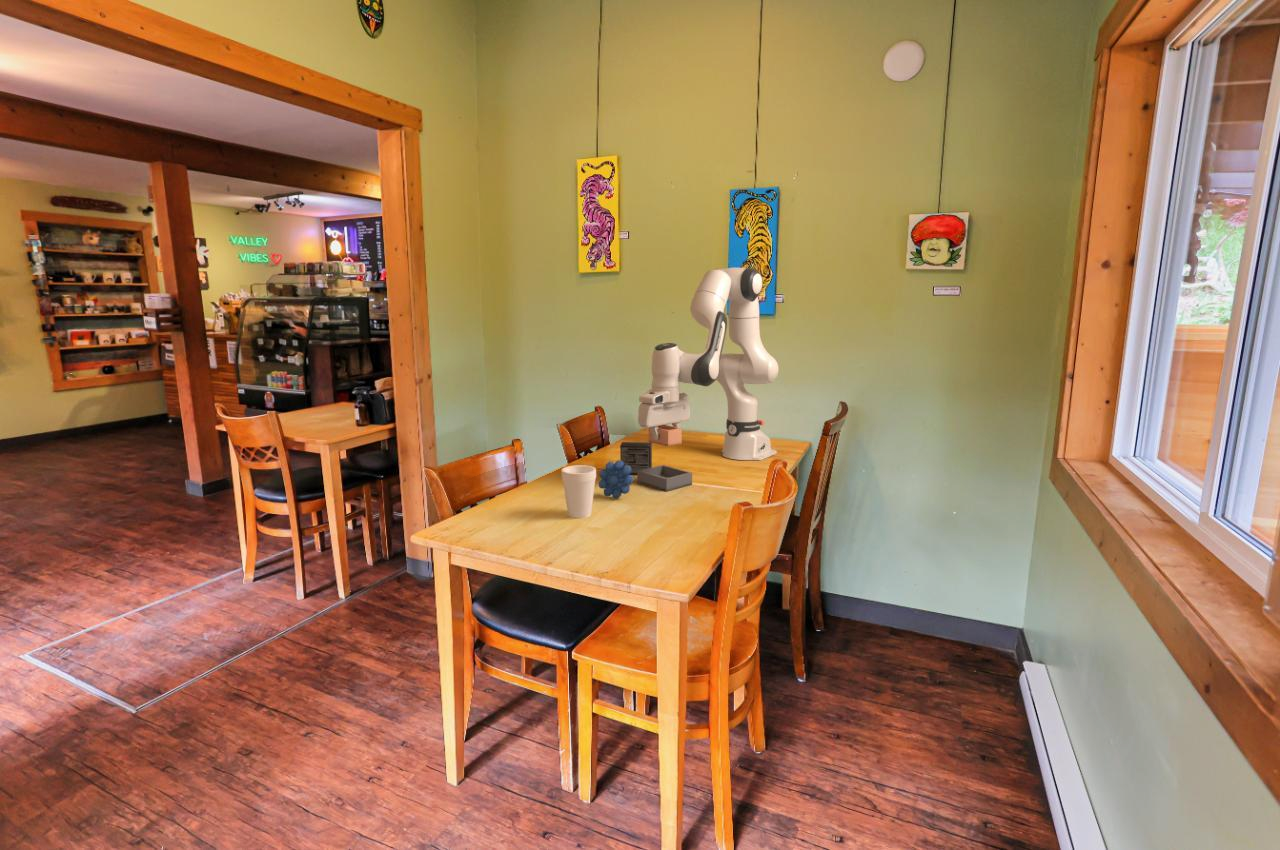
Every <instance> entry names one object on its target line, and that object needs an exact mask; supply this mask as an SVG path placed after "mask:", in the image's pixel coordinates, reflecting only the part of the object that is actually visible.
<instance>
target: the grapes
mask: <svg viewBox="0 0 1280 850" xmlns="http://www.w3.org/2000/svg"><path fill="white" fill-rule="evenodd" d="M623 466H624V463H623V461H621V459H618V460H616V461H615V462H613V461H608V462H607V463H606V464H605V467H604V468H602V469H601V470H600V471H599V475H598V476H599V478H600V480H599V481H598V487H599V488H600V489H603V495H604V496H605V497H610V496H611V497H613V498H614V499H619V498H621V496H622V494H624V495H626V494H628V493H629V492H630V489H631V487H630V485H632V484H633V483H634V480H635V479H634V475H629V474H630V473H631V467H630V466H628V465H626V466H624V467H623Z"/></svg>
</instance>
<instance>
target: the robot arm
mask: <svg viewBox="0 0 1280 850" xmlns="http://www.w3.org/2000/svg"><path fill="white" fill-rule="evenodd" d="M763 287H764V280H763V275H762V274H761V272H760V271H759V270H758V269H756V268H753V267H746V268H745V267H729V268H728V267H727V268H720V269H718V268H713V269H710V270H708V271H706V272H705V274H704V276H703V278H702V279H701V281H700V283H699V285H698V286H697V288H696V290H695V292H694V294H693V297H692V299H691V302H690V306H689V307H690V308H689V311H690V314H691V317H692V318H693V320H694V321H696V322H697V324H699V325H700V326H702V327H704V328H706V329H707V330H709V331H708V336H707V340H706V344H705V348H704V349H705V350H704V351H702V352H700V353H690V352H685V351H683V350H681V349H680V348H679V345H678V344H677V343H673V342H666V343H660V344H657V345H656V346H655V347H654V348H653V352H652V355H651V375H652V382H651V388H650V389H649V390H647V391H645V392H644V393H642V394H640V395H639V397H638V398H639V399H638V401H639V402H640V404H639V406H638V413H637V415H638V416H637V422H638V424H639V425H638V426H640V427H641V428H647V429H649V427H650V429H651V431H652V433H653V439H654V440H658V439H660V434H658V432H657V429H658V426H660V425H671V426H673V427H678V428H680V423H682V422H687V421H690V418H691V407H690V402H689V396H688V394H687V393H685V392H681V393H680V383H683V384H693V385H697V386H702V387H709V386H710V385H712V384H714V382H716V381H717V382H718V383H719V385H720V386H721V388H723V391H724V392H725V396H726V401H727V418H726V423H725V424H726V426H725V427H726V428H725V429H726V432H725V434H724V441H723V448H722V449H721V453H722V454H721V455H722V456H723V457H724V458H726V459H731V460H740V461H763V460H765V459H768V458H769V457H772V456H773V455H776V454H778V451H777V450H775V448H771V447H772V446H771V439H770V437H769V436H768V435H767V434H766V433H765V432H764V431H762V429H761V428H760V427H761V426H764V424H765V420H764V419H759V420H758V406H759V404H758V399H757V398H756V397H755V396H754V394H752V393H750V392H748V390H747V389H746V387H745V384H746V385H747V384H748V385H767V384H772V383H773V382H774V381H775V380H776V379H777V378H778V375H779V369H780V368H779V364H778V361H777V360H776V358H774V357H773V355H771V354H770V353H769V352H768V351H767V349H766V348H765V346H764V344H763V342H762V338H761V331H760V304H759V297H760V294H761V293H762V291H763ZM727 301H729V307H728V308H729V309H728V318H727V315H726V314H725V313H724V312H725V311H724V310H725V308H726V305H727V303H728V302H727ZM727 328H728V329H727ZM727 330H728V336H729V339H730V340H731V342H733V344H735V345H737V346H739V347H740V348H741V350H742V352H743V353H723V347H724V343H725V339H726V334H727ZM722 353H723V354H722Z"/></svg>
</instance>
